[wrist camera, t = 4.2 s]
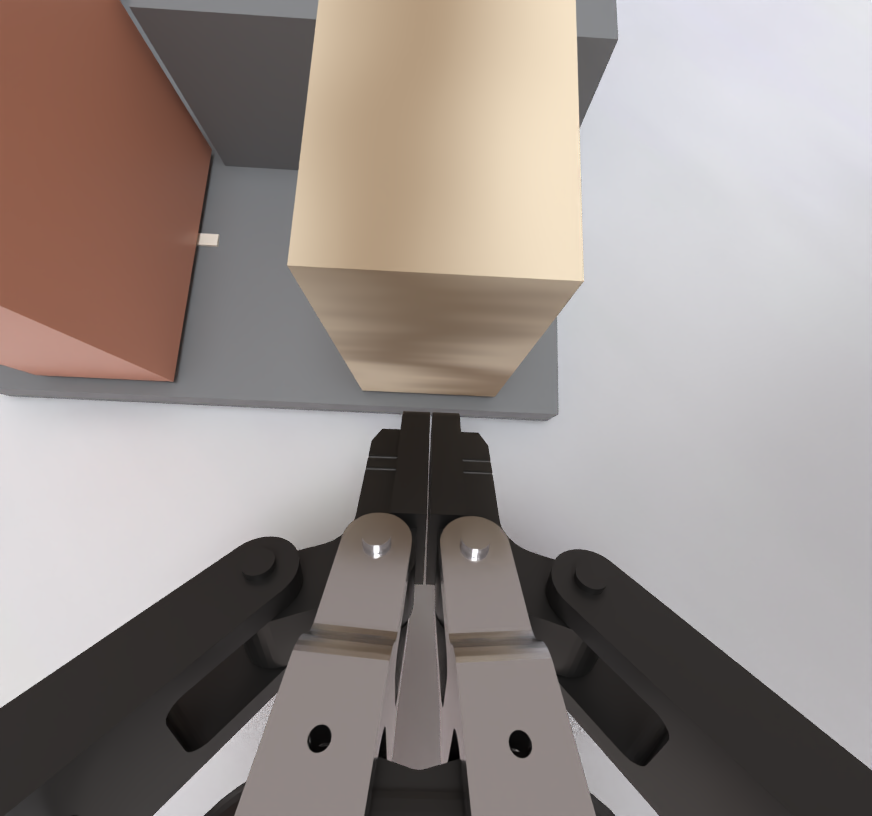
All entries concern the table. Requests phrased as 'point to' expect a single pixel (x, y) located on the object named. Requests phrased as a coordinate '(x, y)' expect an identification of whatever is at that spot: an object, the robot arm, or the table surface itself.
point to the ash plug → (439, 187)
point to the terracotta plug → (93, 195)
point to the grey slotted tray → (279, 225)
